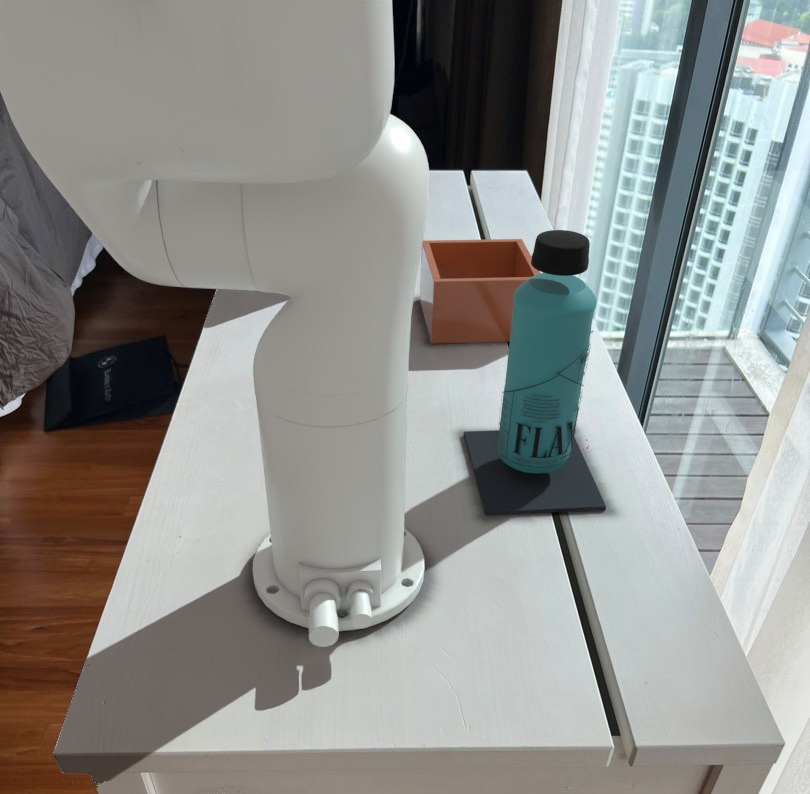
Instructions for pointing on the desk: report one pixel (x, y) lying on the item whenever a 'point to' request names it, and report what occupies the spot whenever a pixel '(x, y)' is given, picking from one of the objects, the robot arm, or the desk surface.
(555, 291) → the beverage bottle
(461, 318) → the holder
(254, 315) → the desk surface
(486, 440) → the mat
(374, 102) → the robot arm
